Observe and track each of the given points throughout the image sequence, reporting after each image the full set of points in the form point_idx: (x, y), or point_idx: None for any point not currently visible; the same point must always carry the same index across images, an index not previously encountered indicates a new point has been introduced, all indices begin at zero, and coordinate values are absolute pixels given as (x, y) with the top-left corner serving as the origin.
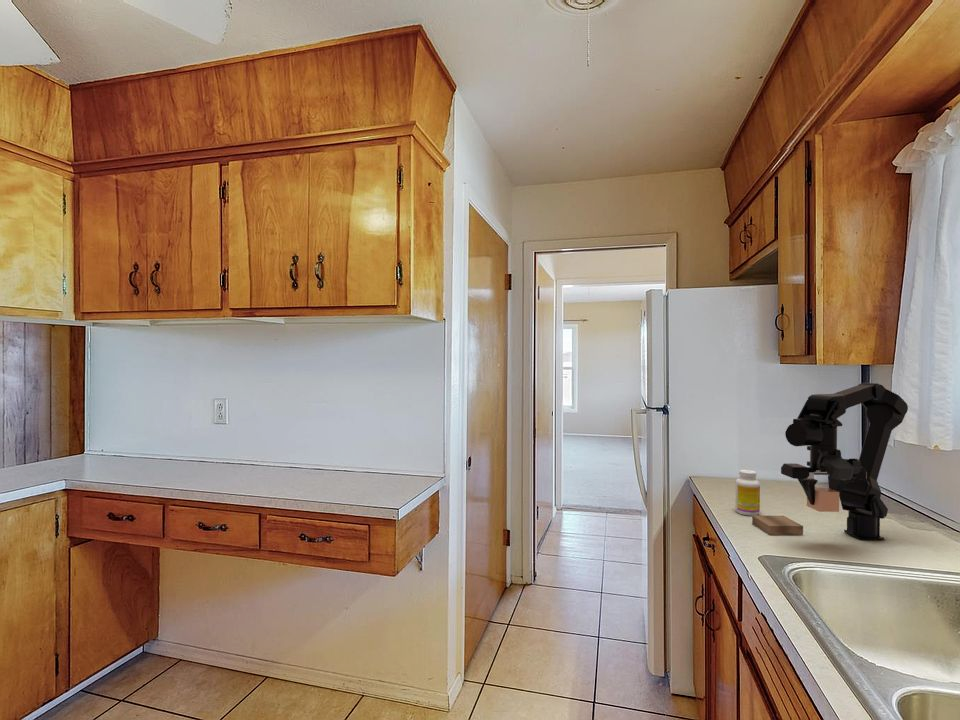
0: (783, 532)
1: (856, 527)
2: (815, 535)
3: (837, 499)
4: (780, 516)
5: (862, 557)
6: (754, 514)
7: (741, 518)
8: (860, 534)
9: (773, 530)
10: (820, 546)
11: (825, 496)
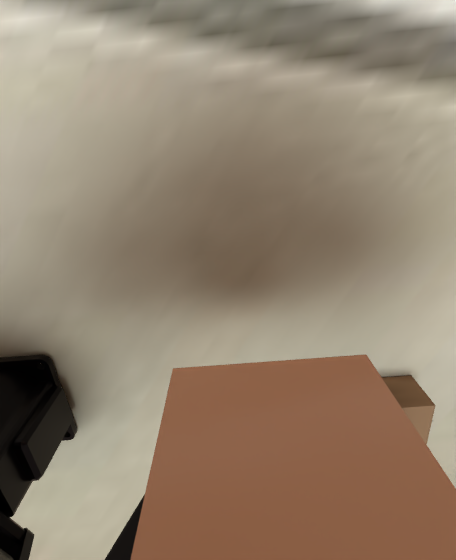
0: None
1: (31, 411)
2: None
3: (171, 485)
4: None
5: (146, 133)
6: None
7: None
8: (31, 385)
9: (405, 390)
10: (272, 268)
11: (365, 521)
